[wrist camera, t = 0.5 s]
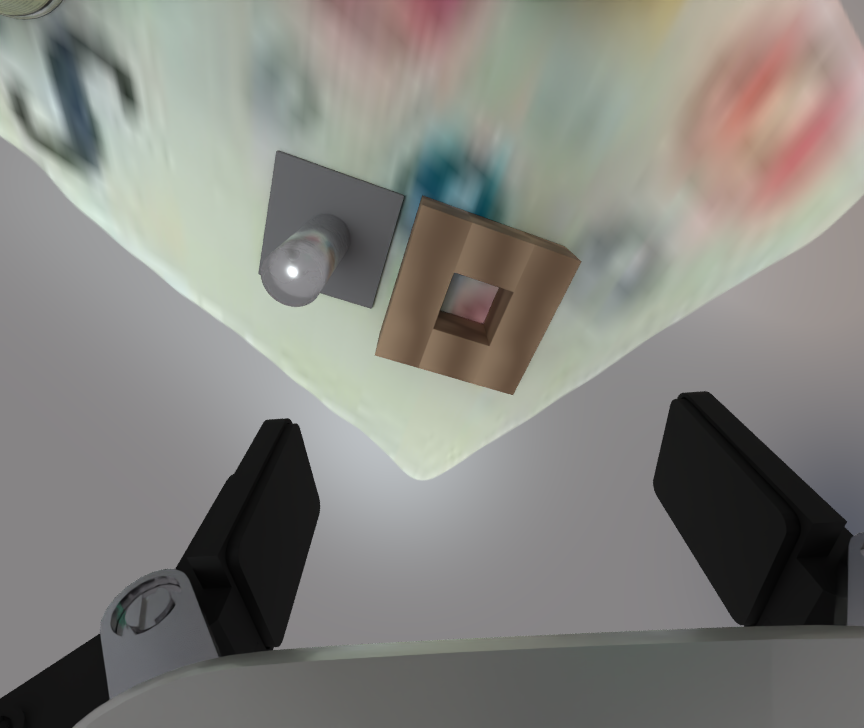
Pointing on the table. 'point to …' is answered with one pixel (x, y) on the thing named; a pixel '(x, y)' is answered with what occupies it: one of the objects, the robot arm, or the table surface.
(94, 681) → the robot arm
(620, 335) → the table surface
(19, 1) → the coffee can
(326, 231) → the steel peg
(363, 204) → the rubber mat
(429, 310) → the brown peg hole board
